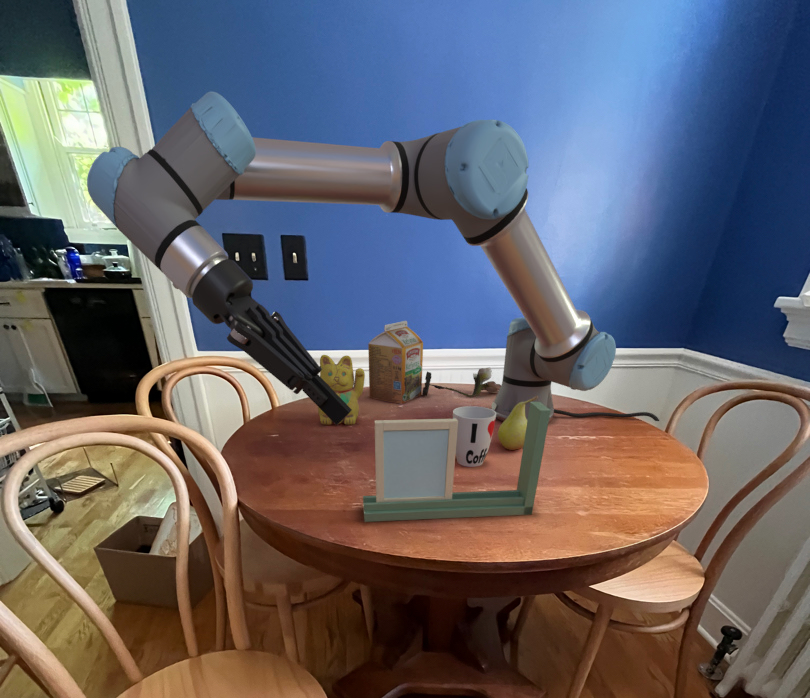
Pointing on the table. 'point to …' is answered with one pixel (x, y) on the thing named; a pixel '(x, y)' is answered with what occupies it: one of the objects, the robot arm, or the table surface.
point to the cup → (473, 434)
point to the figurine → (342, 385)
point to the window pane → (415, 459)
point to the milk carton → (395, 364)
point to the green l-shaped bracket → (482, 500)
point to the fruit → (514, 427)
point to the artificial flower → (479, 379)
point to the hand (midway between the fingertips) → (344, 417)
